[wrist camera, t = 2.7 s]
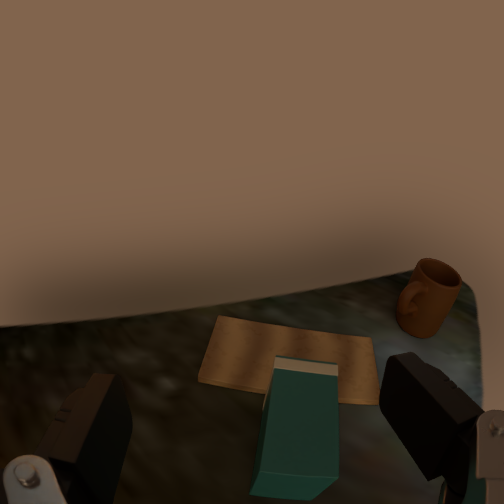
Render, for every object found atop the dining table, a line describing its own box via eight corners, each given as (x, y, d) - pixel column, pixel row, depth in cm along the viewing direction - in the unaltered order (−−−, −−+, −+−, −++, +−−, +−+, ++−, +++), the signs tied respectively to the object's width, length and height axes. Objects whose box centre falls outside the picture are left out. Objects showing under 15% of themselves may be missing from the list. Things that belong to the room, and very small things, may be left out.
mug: (399, 359, 36) (430, 304, 31) (364, 323, 42) (386, 268, 37) (444, 330, 41) (471, 281, 36) (413, 302, 47) (434, 253, 42)
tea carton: (248, 494, 21) (258, 471, 17) (264, 399, 30) (275, 353, 26) (311, 500, 20) (340, 477, 16) (316, 405, 30) (337, 362, 26)
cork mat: (197, 381, 31) (197, 376, 31) (218, 320, 40) (218, 314, 39) (377, 405, 30) (381, 400, 29) (368, 342, 38) (371, 337, 38)
